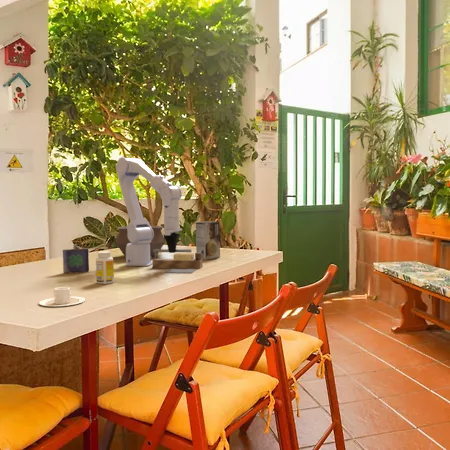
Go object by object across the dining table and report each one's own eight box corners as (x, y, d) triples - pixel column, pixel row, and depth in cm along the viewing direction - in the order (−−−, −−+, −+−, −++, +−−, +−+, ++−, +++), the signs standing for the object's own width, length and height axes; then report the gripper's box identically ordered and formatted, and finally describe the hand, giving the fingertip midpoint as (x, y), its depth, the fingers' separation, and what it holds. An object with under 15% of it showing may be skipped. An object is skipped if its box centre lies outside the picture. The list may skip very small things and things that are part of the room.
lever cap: (173, 260, 192) (173, 254, 192) (176, 258, 197) (176, 253, 197) (191, 260, 192) (191, 254, 191) (193, 258, 196) (193, 253, 196)
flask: (63, 273, 183) (62, 244, 182) (63, 272, 186) (62, 244, 185) (89, 272, 186) (88, 243, 185) (88, 271, 189) (88, 243, 188)
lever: (152, 258, 195) (152, 249, 195) (154, 257, 197) (154, 249, 197) (190, 258, 193) (190, 249, 193) (191, 258, 195) (191, 249, 195)
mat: (165, 273, 181) (165, 272, 181) (170, 269, 189) (170, 268, 189) (191, 273, 180) (191, 272, 180) (196, 269, 188) (196, 269, 188)
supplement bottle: (115, 281, 167) (114, 250, 166) (112, 284, 161) (112, 252, 160) (98, 281, 166) (97, 251, 165) (95, 284, 161) (94, 253, 160)
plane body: (152, 267, 194) (152, 253, 194) (155, 266, 198) (155, 252, 198) (200, 268, 192) (200, 253, 191) (202, 266, 196) (202, 252, 196)
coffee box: (210, 256, 227) (210, 221, 226) (220, 257, 223) (220, 221, 222) (195, 258, 221) (195, 222, 220) (205, 259, 216) (205, 222, 215)
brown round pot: (157, 260, 215) (156, 223, 214) (105, 260, 219) (104, 223, 218) (173, 253, 239) (172, 219, 237) (125, 253, 243) (124, 219, 242)
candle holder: (34, 302, 137) (34, 287, 137) (78, 297, 143) (78, 282, 143) (44, 311, 127) (43, 294, 127) (91, 305, 133) (90, 289, 133)
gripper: (177, 218, 184) (178, 254, 185) (185, 216, 198) (186, 250, 199) (158, 218, 185) (159, 254, 186) (168, 216, 199) (169, 250, 200)
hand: (172, 252), depth 193 cm, fingers closed
